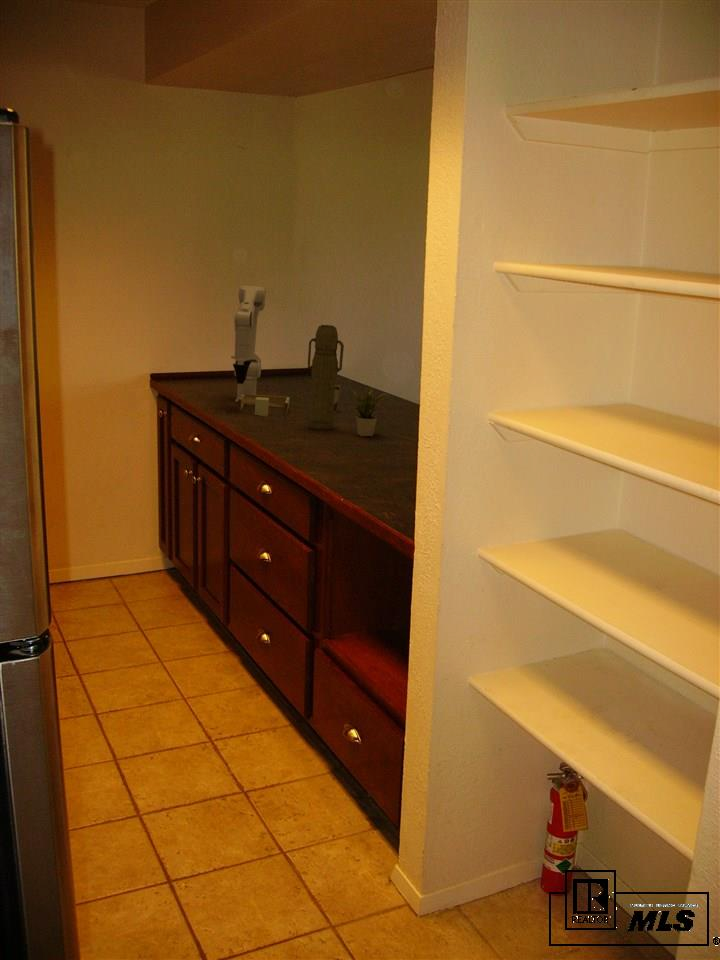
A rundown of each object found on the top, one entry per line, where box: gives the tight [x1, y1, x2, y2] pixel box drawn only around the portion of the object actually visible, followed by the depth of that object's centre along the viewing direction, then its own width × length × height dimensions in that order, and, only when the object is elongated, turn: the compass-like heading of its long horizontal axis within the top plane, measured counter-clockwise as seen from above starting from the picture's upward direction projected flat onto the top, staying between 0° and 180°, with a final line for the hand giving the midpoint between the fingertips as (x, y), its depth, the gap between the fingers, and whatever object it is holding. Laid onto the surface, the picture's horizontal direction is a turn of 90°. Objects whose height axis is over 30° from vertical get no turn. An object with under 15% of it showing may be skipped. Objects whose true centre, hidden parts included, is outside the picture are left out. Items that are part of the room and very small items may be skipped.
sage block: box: [254, 397, 270, 417], centre depth 344 cm, size 4×4×6 cm
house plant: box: [350, 387, 388, 437], centre depth 320 cm, size 14×14×16 cm
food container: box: [334, 384, 341, 412], centre depth 359 cm, size 12×6×10 cm, turn 145°
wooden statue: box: [307, 324, 345, 431], centre depth 326 cm, size 9×12×35 cm
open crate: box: [237, 394, 291, 415], centre depth 355 cm, size 15×18×4 cm
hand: (241, 382), depth 348 cm, fingers open, 7 cm apart
